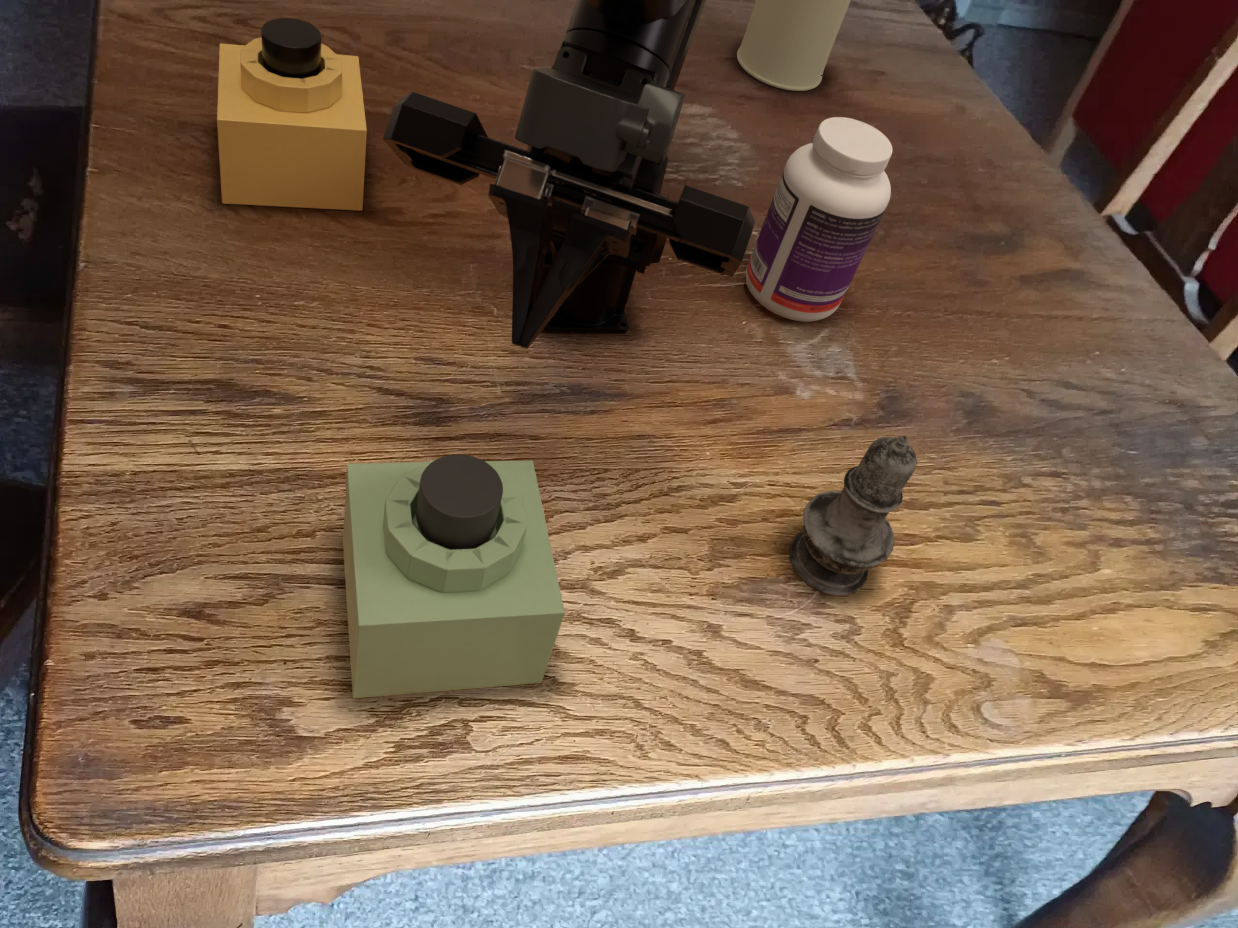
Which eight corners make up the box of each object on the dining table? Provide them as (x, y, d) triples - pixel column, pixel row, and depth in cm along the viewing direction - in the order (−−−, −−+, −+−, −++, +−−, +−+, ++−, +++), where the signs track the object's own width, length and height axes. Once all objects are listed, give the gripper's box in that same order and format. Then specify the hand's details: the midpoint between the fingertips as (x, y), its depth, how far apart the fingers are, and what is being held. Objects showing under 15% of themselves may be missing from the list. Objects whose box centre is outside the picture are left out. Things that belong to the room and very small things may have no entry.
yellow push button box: (354, 135, 88) (359, 31, 81) (362, 211, 82) (368, 105, 75) (224, 126, 85) (218, 17, 78) (222, 203, 79) (215, 93, 72)
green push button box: (514, 535, 65) (538, 435, 58) (541, 683, 59) (572, 590, 52) (342, 542, 62) (348, 437, 55) (352, 698, 56) (360, 601, 49)
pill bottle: (855, 304, 88) (931, 152, 77) (799, 342, 83) (873, 185, 72) (779, 249, 90) (843, 96, 80) (721, 283, 86) (781, 124, 75)
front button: (490, 485, 56) (497, 453, 54) (501, 547, 53) (508, 516, 51) (412, 487, 54) (416, 454, 53) (419, 551, 52) (424, 519, 50)
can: (725, 40, 113) (761, -75, 105) (803, 47, 116) (844, -64, 108) (752, 88, 108) (792, -30, 99) (833, 94, 111) (879, -19, 102)
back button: (319, 54, 79) (320, 21, 77) (321, 83, 76) (322, 50, 74) (262, 48, 78) (261, 15, 76) (262, 78, 75) (261, 44, 73)
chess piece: (870, 611, 67) (956, 489, 58) (780, 583, 67) (853, 457, 58) (873, 539, 71) (954, 416, 62) (788, 514, 71) (857, 386, 62)
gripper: (412, -76, 47) (300, 263, 48) (816, 62, 47) (699, 400, 48) (455, 21, 58) (363, 295, 59) (781, 133, 58) (687, 406, 59)
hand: (519, 346), depth 56 cm, fingers closed
